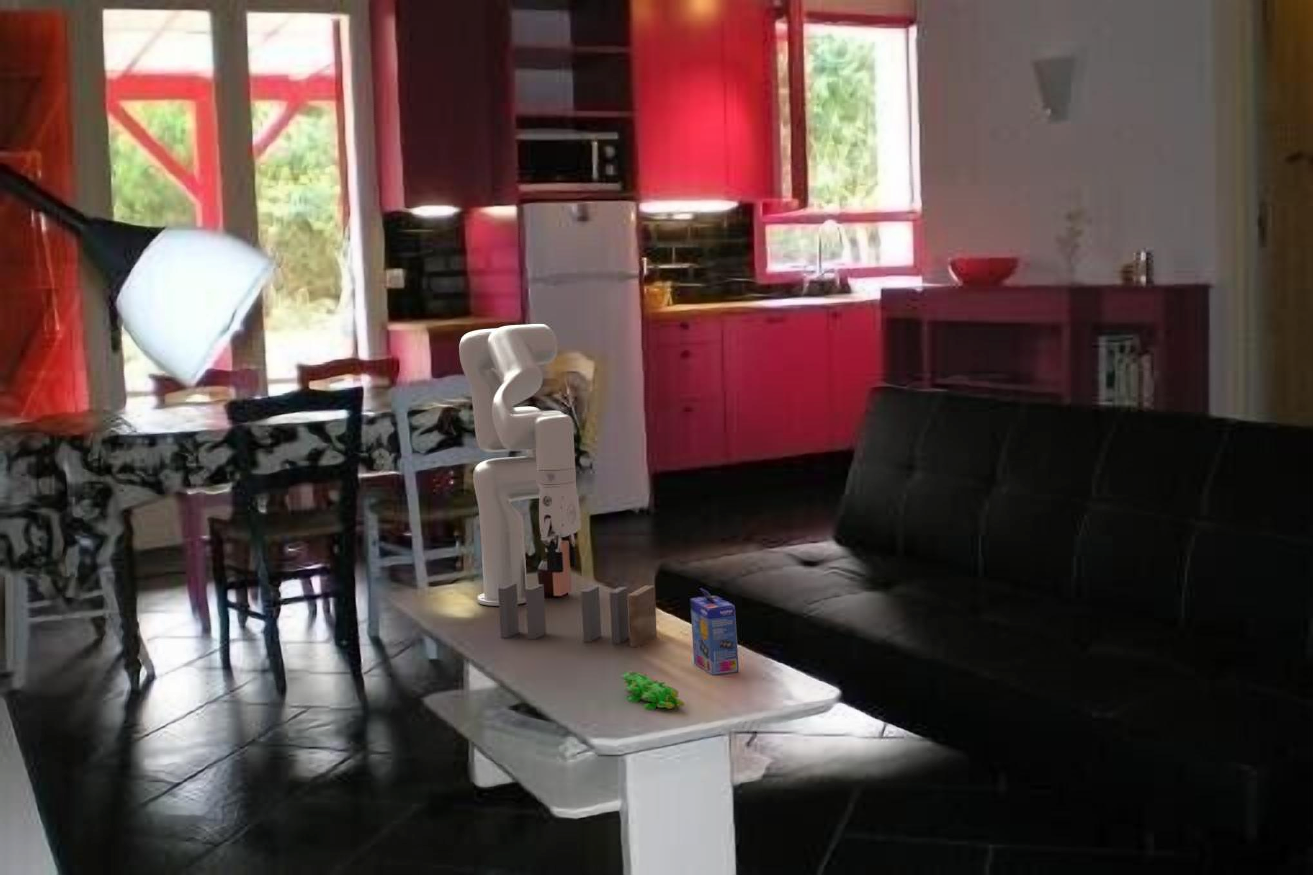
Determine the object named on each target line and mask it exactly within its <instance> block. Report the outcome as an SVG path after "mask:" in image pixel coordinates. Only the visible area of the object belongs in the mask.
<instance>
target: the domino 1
mask: <svg viewBox="0 0 1313 875" xmlns="http://www.w3.org/2000/svg"><path fill="white" fill-rule="evenodd" d="M498 595H499V606H498V608H499V609H498V610H499V626H500V638H501V639H509V638H511V637H513V636H515V635H516V634H517V635H518V633H520V624H519V620H520V619H519V604H518V602H517V584H516V583H509V584H506V585H504V586H502V587H500V588H498Z"/></svg>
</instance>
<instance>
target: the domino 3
mask: <svg viewBox="0 0 1313 875" xmlns="http://www.w3.org/2000/svg"><path fill="white" fill-rule="evenodd" d="M555 544H556V542H555ZM560 552H562V553H563V572H561V573H556V572H553V589H554V596H559V597H562V596H565V595H564V594H566V593H568V594H569V593H570V592H572V573H571V572H572V571H571V568H572V567H570V553H569V541H561V550H560Z"/></svg>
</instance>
